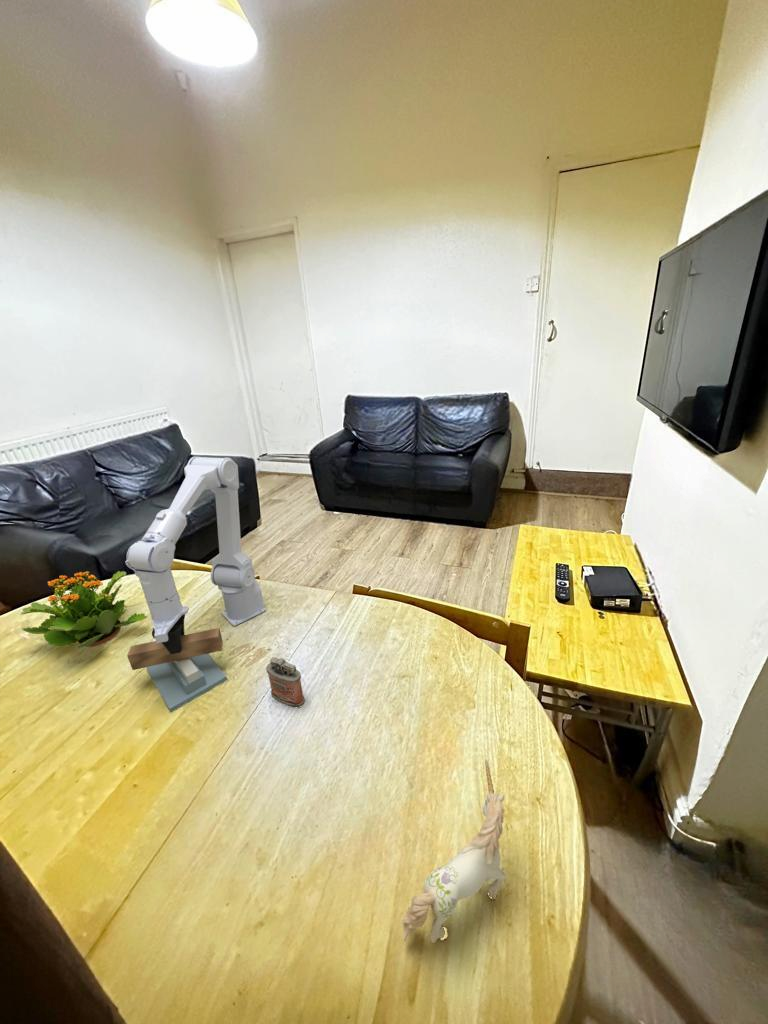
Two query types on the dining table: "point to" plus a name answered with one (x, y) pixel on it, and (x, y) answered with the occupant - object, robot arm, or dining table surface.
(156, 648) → the walnut bar
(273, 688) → the lighter
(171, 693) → the ridge stand
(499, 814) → the unicorn figurine
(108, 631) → the potted flower
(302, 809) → the dining table surface
